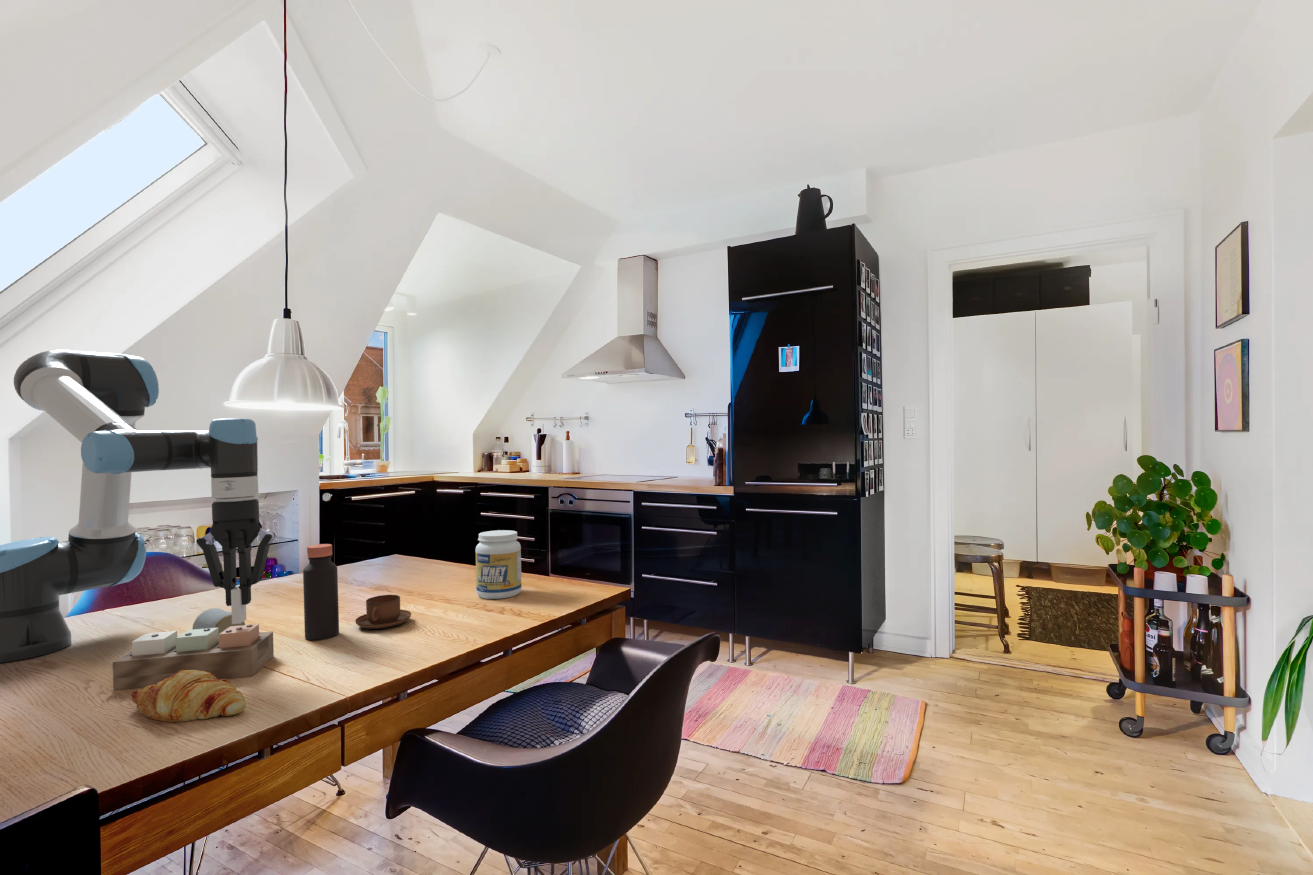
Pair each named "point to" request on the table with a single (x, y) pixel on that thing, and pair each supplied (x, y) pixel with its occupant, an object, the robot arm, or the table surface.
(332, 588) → the bottle
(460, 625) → the table surface
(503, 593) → the supplement tub
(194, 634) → the two pip tile
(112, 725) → the table surface
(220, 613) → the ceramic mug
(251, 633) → the three pip tile
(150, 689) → the croissant
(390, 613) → the cup and saucer
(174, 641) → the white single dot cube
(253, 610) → the table surface
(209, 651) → the wooden tile tray
